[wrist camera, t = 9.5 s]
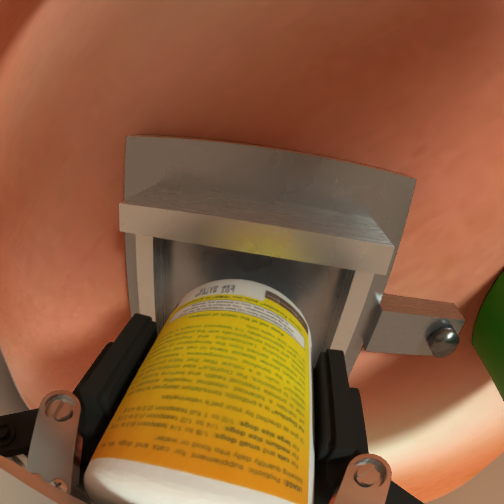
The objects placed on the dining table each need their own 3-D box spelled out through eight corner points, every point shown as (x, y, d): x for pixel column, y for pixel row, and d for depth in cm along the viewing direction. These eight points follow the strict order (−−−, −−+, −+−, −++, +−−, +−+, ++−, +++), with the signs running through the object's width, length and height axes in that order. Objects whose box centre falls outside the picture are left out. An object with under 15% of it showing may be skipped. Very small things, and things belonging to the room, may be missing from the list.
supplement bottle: (157, 279, 11) (-5, 517, 2) (304, 263, 10) (297, 630, 1) (195, 381, 14) (126, 578, 4) (315, 376, 13) (308, 609, 3)
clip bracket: (136, 134, 12) (84, 143, 9) (490, 201, 11) (538, 229, 8) (145, 366, 18) (121, 411, 14) (398, 403, 17) (409, 450, 13)
